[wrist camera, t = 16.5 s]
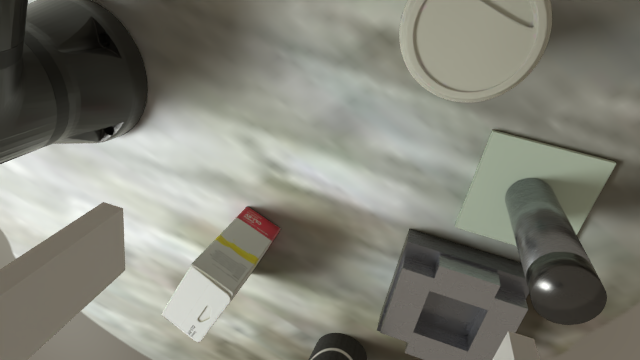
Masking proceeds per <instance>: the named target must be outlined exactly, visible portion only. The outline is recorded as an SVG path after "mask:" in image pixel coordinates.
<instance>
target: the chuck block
mask: <svg viewBox="0 0 640 360" xmlns="http://www.w3.org/2000/svg"><path fill="white" fill-rule="evenodd" d="M528 294H529V290H528V286H527V282H526V279H525V275H524V271H523V267H522V264H521V263H519V262H515V261H512V260H509V259H506V258H503V257H499V256H496V255H493V254H490V253H486V252H483V251H480V250H477V249H473V248H470V247H467V246H464V245H460V244H457V243H454V242H451V241H448V240H444V239H441V238H438V237H435V236H431V235H428V234H425V233H422V232H418V231H415V230H412V229H409V232H408V234H407V237H406V240H405V243H404V246H403V249H402V252H401V255H400V258H399V261H398V264H397V267H396V270H395V273H394V276H393V279H392V282H391V285H390V288H389V291H388V294H387V297H386V300H385V302H384V305H383V308H382V311H381V314H380V319H379V323H378V328H377V330H378V331H381V332H380V333H383V334H386V335H388V336H391V337H394V338H397V339H400V340H403V341H405V342H406V348H405V353H406V354H409V355H412V356H415V357H418V358H420V359H423V360H492V359H493V358H494V356H495V354H496V352H497V350H498V349H499V347H500V345H501V343H502V341H503V340H504V338H505V336H506V334H507V332H508V331H510V332H514V333H515V332H516V331H517V329H518V327H519V325H520V323H521V322H522V320H523V318H524V316H525V314H526V312H527V311H528V306H527V302H526V298H527V296H528Z"/></svg>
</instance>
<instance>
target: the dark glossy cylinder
mask: <svg viewBox="0 0 640 360" xmlns="http://www.w3.org/2000/svg"><path fill="white" fill-rule="evenodd" d="M505 203H506V207H507V211H508V214H509V218H510V222H511V226H512V229H513V233H514V237H515V241H516V245H517V248H518V252H519V256H520V260H521V264H522V267H523V271H524V275H525V279H526V282H527V286H528V290H529V294H530V298H531V301H532V305H533V307H534V309H535V310H536V311H537V312H538V313H539V314H540V315H541V316H542V317H544V318H545V319H547V320H549V321H552V322H554V323H558V324H565V325H574V324H580V323H584V322H587V321H589V320H591V319H593V318H595V317H596V316H597V315H599V314H600V313H601V311H602V310H603V309H604V307H605V304H606V300H607V295H606V291H605V289H604V287H603V285H602V283H601V281H600V279H599V277H598V275H597V273H596V271H595V269H594V267H593V266H592V264H591V262H590V260H589V258H588V256H587V254H586V252H585V250H584V248H583V246H582V245H581V243H580V241H579V239H578V237H577V235H576V233H575V231H574V229H573V227H572V225H571V224H570V222H569V220H568V218H567V216H566V214H565V212H564V210H563V208H562V206H561V205H560V203H559V201H558V199H557V197H556V195H555V193H554V191H553V189H552V188H551V186H550V185H549V184H548V183H547V182H545V181H543V180H541V179H538V178H524V179H521V180H518V181H516V182H515V183H513V184H512V185H511V186H510V187H509V188H508V190H507V192H506V195H505Z"/></svg>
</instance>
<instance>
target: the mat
mask: <svg viewBox="0 0 640 360" xmlns="http://www.w3.org/2000/svg"><path fill="white" fill-rule="evenodd" d="M615 165H616V163H615V162H614V161H612V160H608V159H604V158H600V157H596V156H592V155H588V154H585V153H581V152H577V151H573V150H569V149H565V148H561V147H558V146H554V145H550V144H546V143H542V142H538V141H534V140H531V139H527V138H523V137H519V136H515V135H511V134H507V133H504V132H500V131H496V130H492V132H491V135H490V137H489V140H488V142H487V145H486V147H485V150H484V152H483V155H482V157H481V160H480V162H479V165H478V167H477V170H476V173H475V175H474V178H473V180H472V183H471V185H470V188H469V190H468V193H467V195H466V198H465V200H464V203H463V205H462V208H461V210H460V213H459V216H458V218H457V221H456V223H455V227H456V228H459V229H462V230H466V231H469V232H472V233H476V234H479V235H482V236H486V237H489V238H492V239H495V240H499V241H502V242H505V243H509V244H512V245H515V246H517V245H516V241H515V237H514V233H513V229H512V226H511V222H510V218H509V214H508V211H507V207H506V203H505V195H506V192H507V190H508V188H509V187H510V186H511V185H512V184H513V183H515V182H516V181H518V180H521V179H524V178H538V179H541V180H543V181H545V182H547V183H548V184H549V185H550V186H551V188H552V189H553V191H554V193H555V195H556V197H557V199H558V201H559V203H560V205H561V206H562V208H563V210H564V212H565V214H566V216H567V218H568V220H569V222H570V224H571V225H572V227H573V229H574V231H575V233H576V235H577V233H578V231H579V230H580V228H581V226H582V224H583V223H584V221H585V219H586V217H587V215H588V214H589V212H590V210H591V208H592V206H593V205H594V203H595V201H596V199H597V197H598V196H599V194H600V192H601V190H602V189H603V187H604V185H605V183H606V181H607V180H608V178H609V176H610V174H611V172H612V171H613V169H614V167H615Z"/></svg>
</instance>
